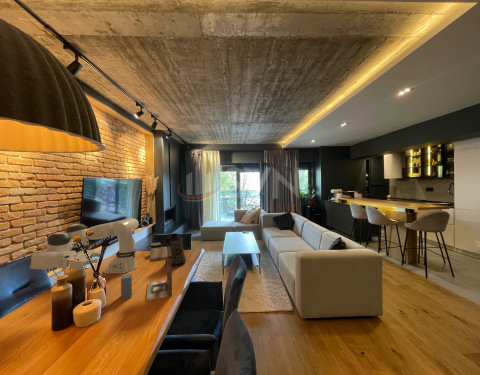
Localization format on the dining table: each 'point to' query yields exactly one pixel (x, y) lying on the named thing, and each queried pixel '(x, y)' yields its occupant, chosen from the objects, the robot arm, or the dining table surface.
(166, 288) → the overhang shelf
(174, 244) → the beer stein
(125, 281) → the grey upright block
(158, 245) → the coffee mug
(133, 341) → the dining table surface
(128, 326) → the dining table surface
